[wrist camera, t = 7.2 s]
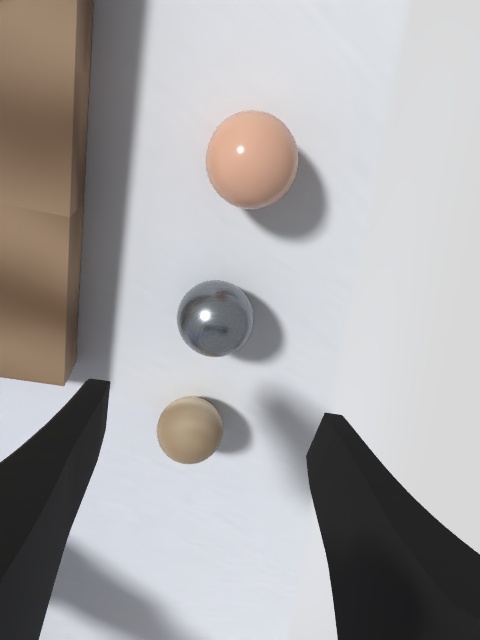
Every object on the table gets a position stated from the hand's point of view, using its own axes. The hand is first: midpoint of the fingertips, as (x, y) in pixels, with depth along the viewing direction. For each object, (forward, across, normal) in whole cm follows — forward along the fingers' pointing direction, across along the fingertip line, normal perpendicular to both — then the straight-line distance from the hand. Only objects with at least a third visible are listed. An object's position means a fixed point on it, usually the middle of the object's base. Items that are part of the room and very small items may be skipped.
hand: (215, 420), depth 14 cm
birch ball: (+7, 0, +7) cm, 10 cm away
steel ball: (+7, 0, 0) cm, 7 cm away
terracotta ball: (+7, 0, -7) cm, 10 cm away
